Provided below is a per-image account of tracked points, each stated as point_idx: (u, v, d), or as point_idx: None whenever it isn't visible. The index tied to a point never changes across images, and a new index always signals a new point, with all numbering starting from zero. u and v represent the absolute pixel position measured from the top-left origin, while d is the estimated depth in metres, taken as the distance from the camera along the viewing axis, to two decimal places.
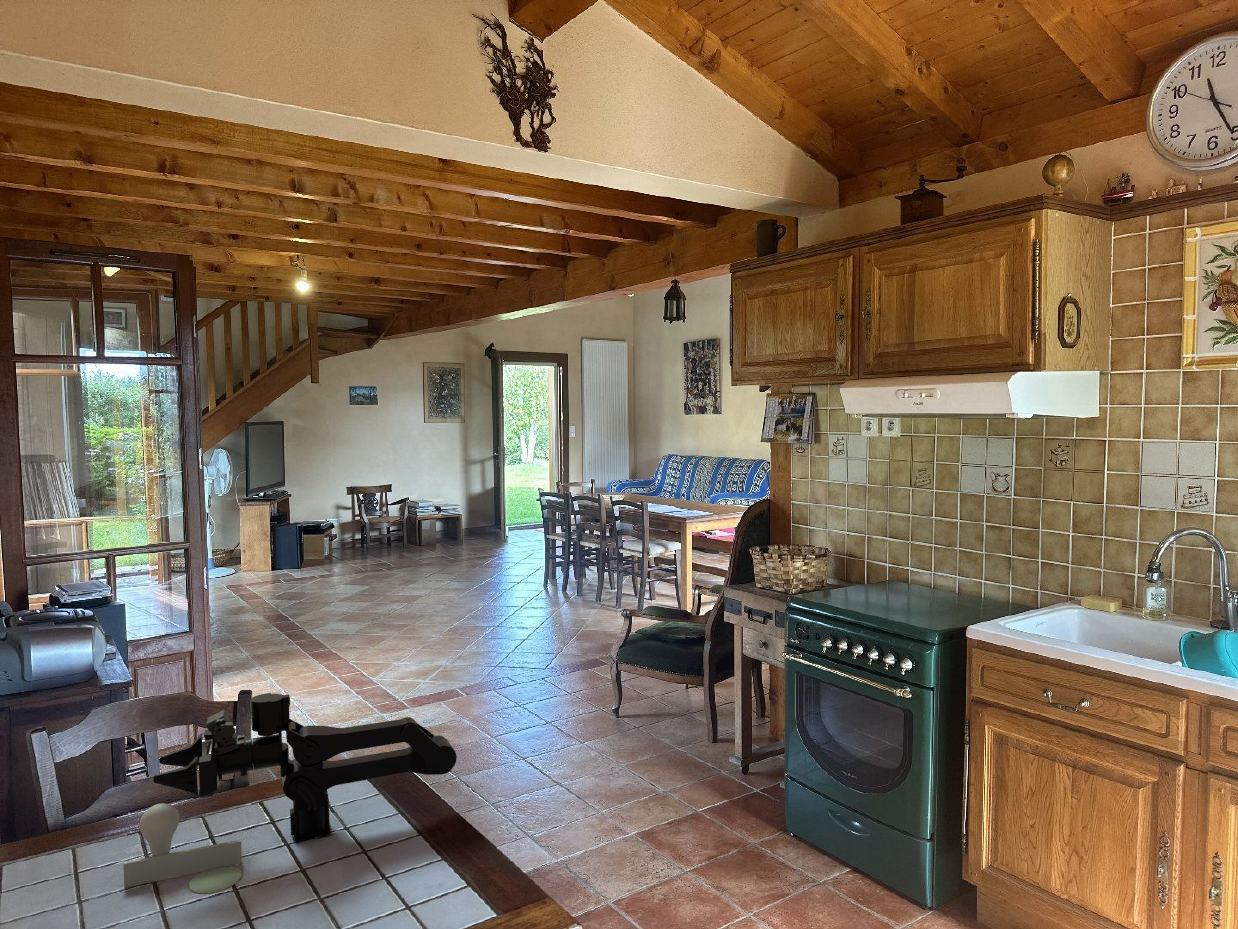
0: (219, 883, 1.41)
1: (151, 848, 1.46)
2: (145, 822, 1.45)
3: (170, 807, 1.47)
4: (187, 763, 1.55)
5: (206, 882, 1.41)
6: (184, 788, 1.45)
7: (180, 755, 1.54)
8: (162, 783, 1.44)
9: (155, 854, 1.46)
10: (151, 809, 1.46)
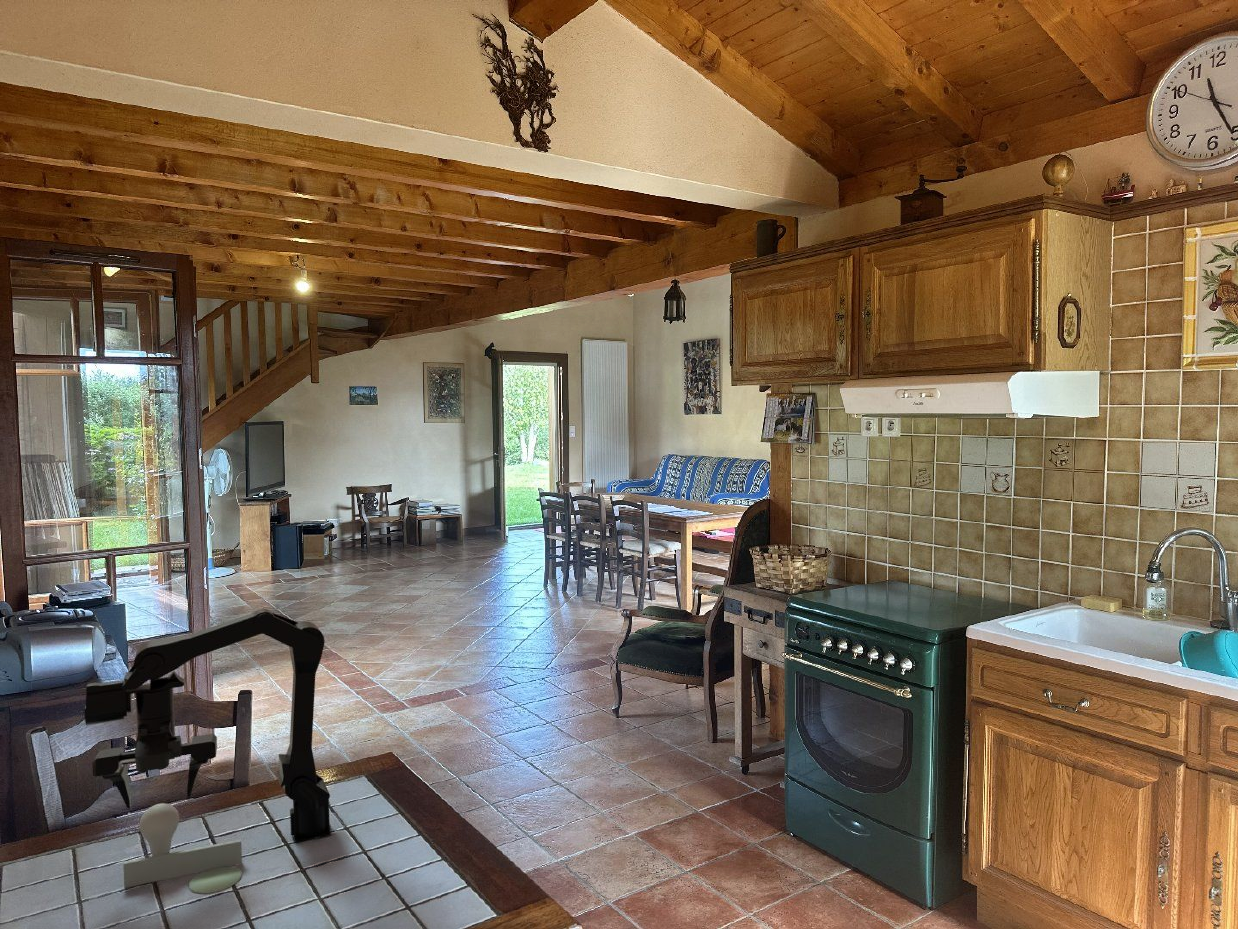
0: (219, 883, 1.41)
1: (151, 848, 1.46)
2: (145, 822, 1.45)
3: (170, 807, 1.47)
4: (127, 779, 1.46)
5: (206, 882, 1.41)
6: None
7: (126, 789, 1.45)
8: None
9: (155, 854, 1.46)
10: (151, 809, 1.46)
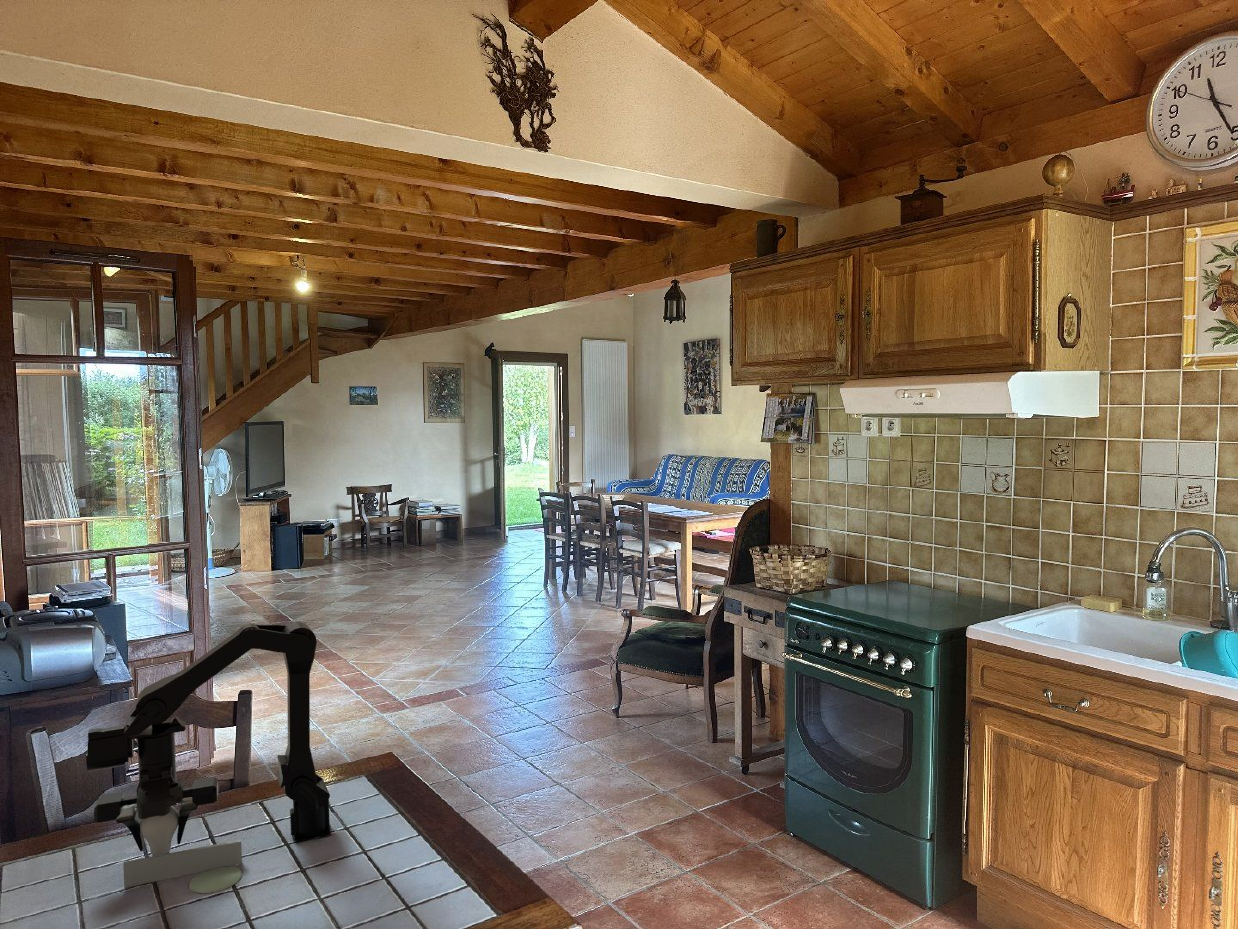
0: (219, 883, 1.41)
1: (151, 848, 1.46)
2: (145, 822, 1.45)
3: None
4: None
5: (206, 882, 1.41)
6: None
7: (139, 832, 1.46)
8: None
9: (155, 854, 1.46)
10: None
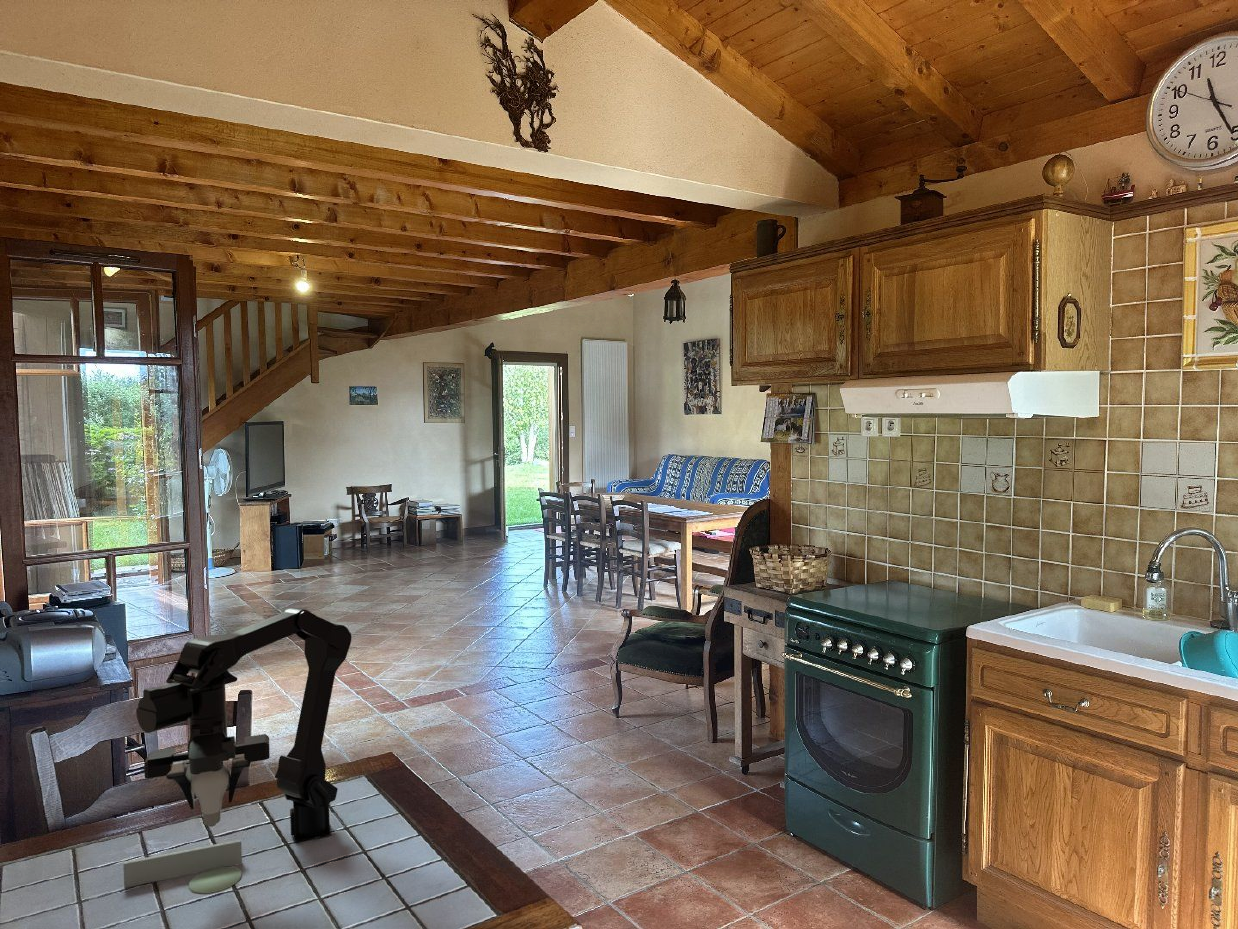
0: (219, 883, 1.41)
1: (202, 806, 1.40)
2: (196, 778, 1.39)
3: None
4: (190, 779, 1.42)
5: (206, 882, 1.41)
6: None
7: None
8: None
9: (206, 812, 1.40)
10: None
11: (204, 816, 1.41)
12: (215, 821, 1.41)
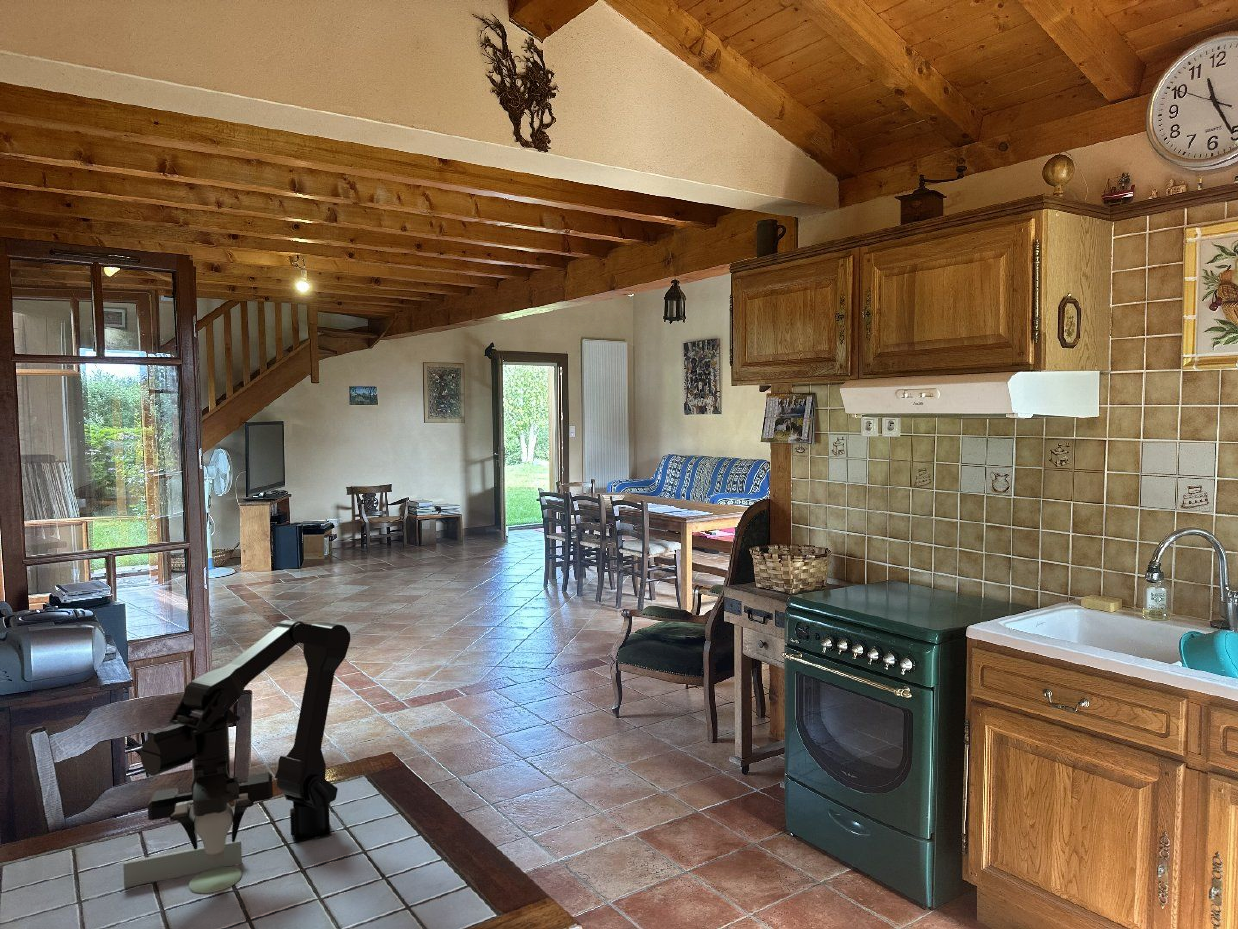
0: (219, 883, 1.41)
1: (206, 846, 1.41)
2: (200, 819, 1.39)
3: None
4: None
5: (206, 882, 1.41)
6: None
7: (193, 829, 1.41)
8: None
9: (210, 852, 1.41)
10: None
11: (207, 856, 1.41)
12: (218, 861, 1.41)
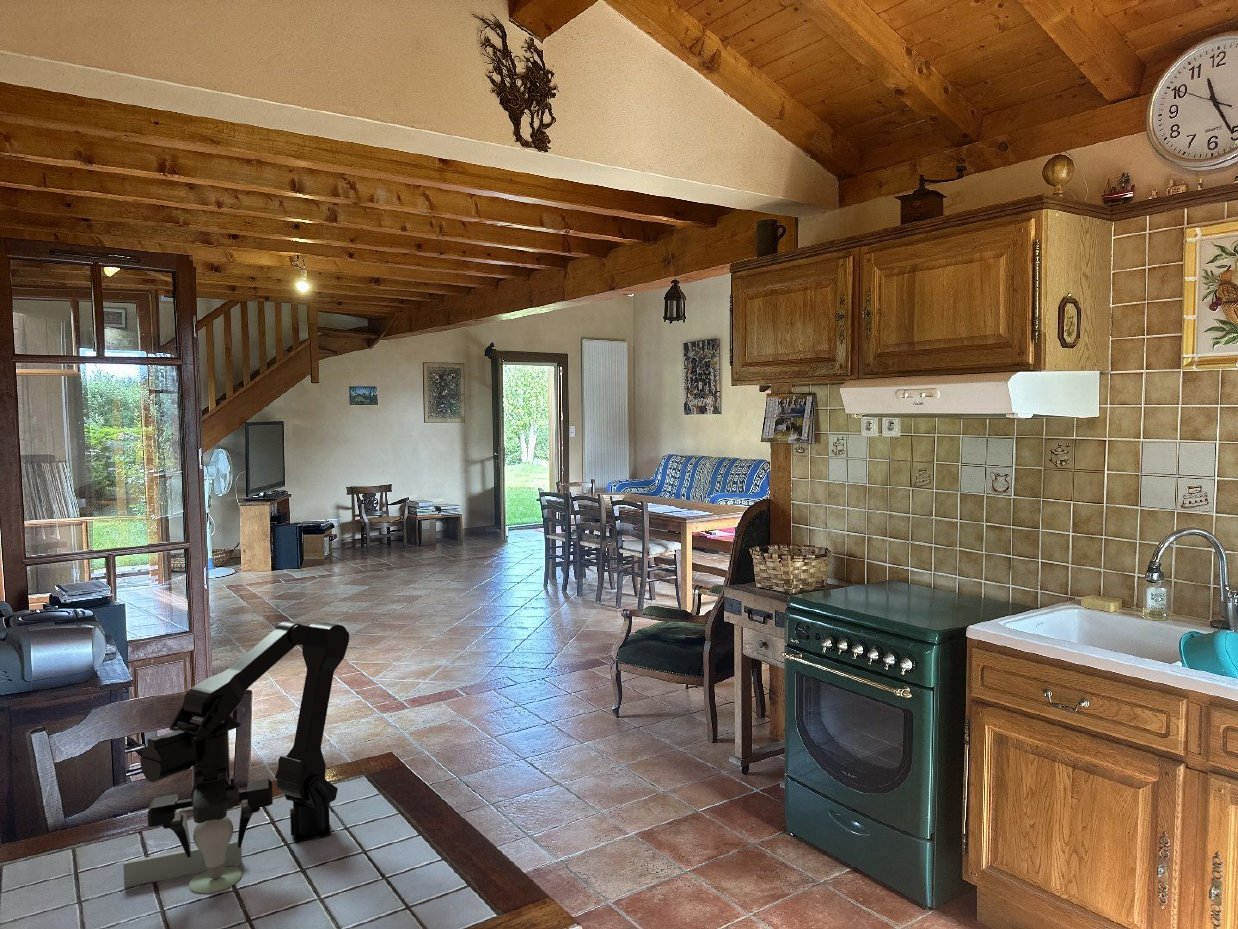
0: (219, 883, 1.41)
1: (206, 859, 1.41)
2: (200, 833, 1.39)
3: None
4: (187, 827, 1.42)
5: (206, 882, 1.41)
6: None
7: (186, 837, 1.40)
8: None
9: (210, 866, 1.41)
10: None
11: (208, 869, 1.41)
12: (219, 874, 1.42)
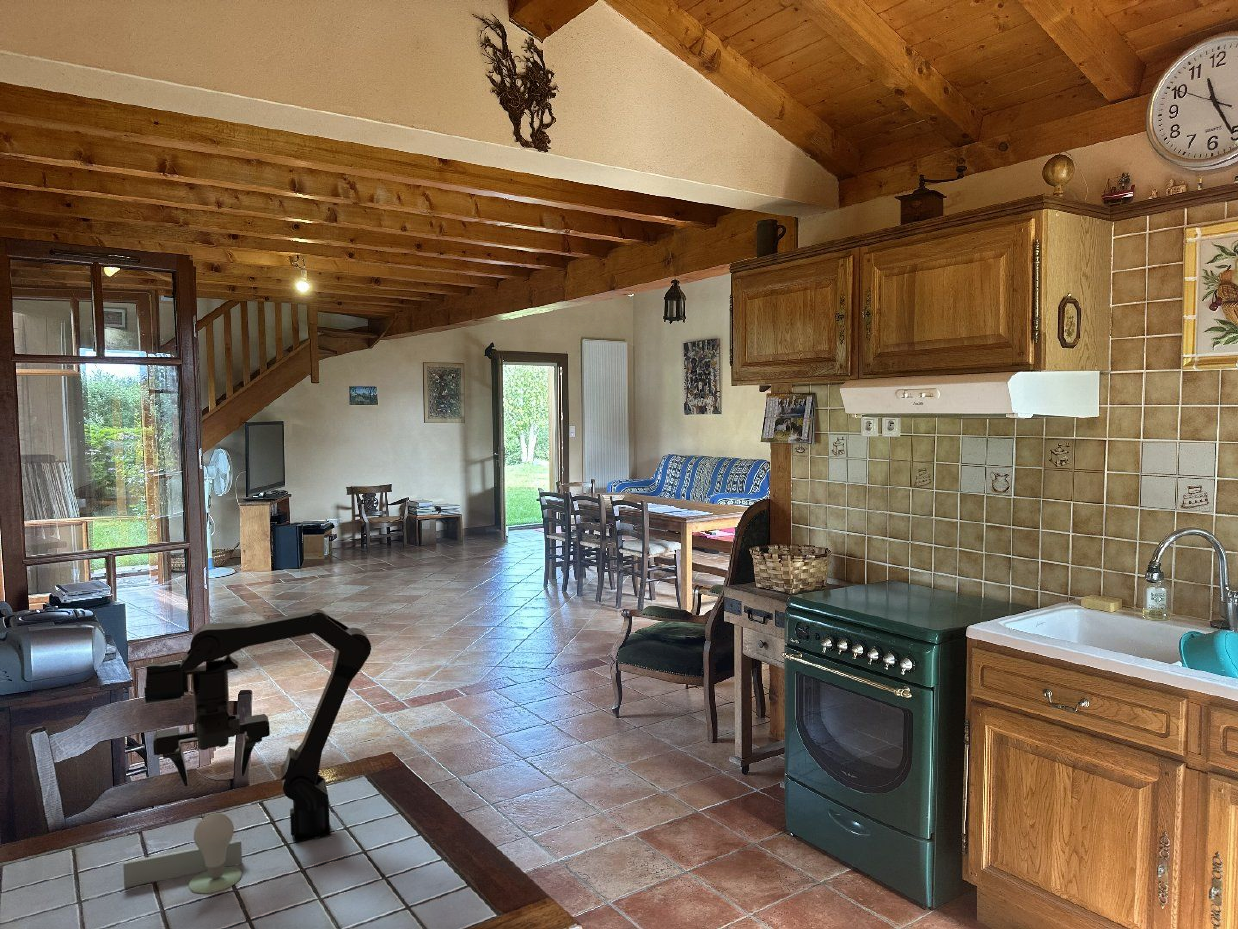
0: (219, 883, 1.41)
1: (206, 859, 1.41)
2: (200, 833, 1.39)
3: (225, 817, 1.42)
4: None
5: (206, 882, 1.41)
6: None
7: None
8: None
9: (210, 866, 1.41)
10: (205, 819, 1.41)
11: (208, 869, 1.41)
12: (219, 874, 1.42)
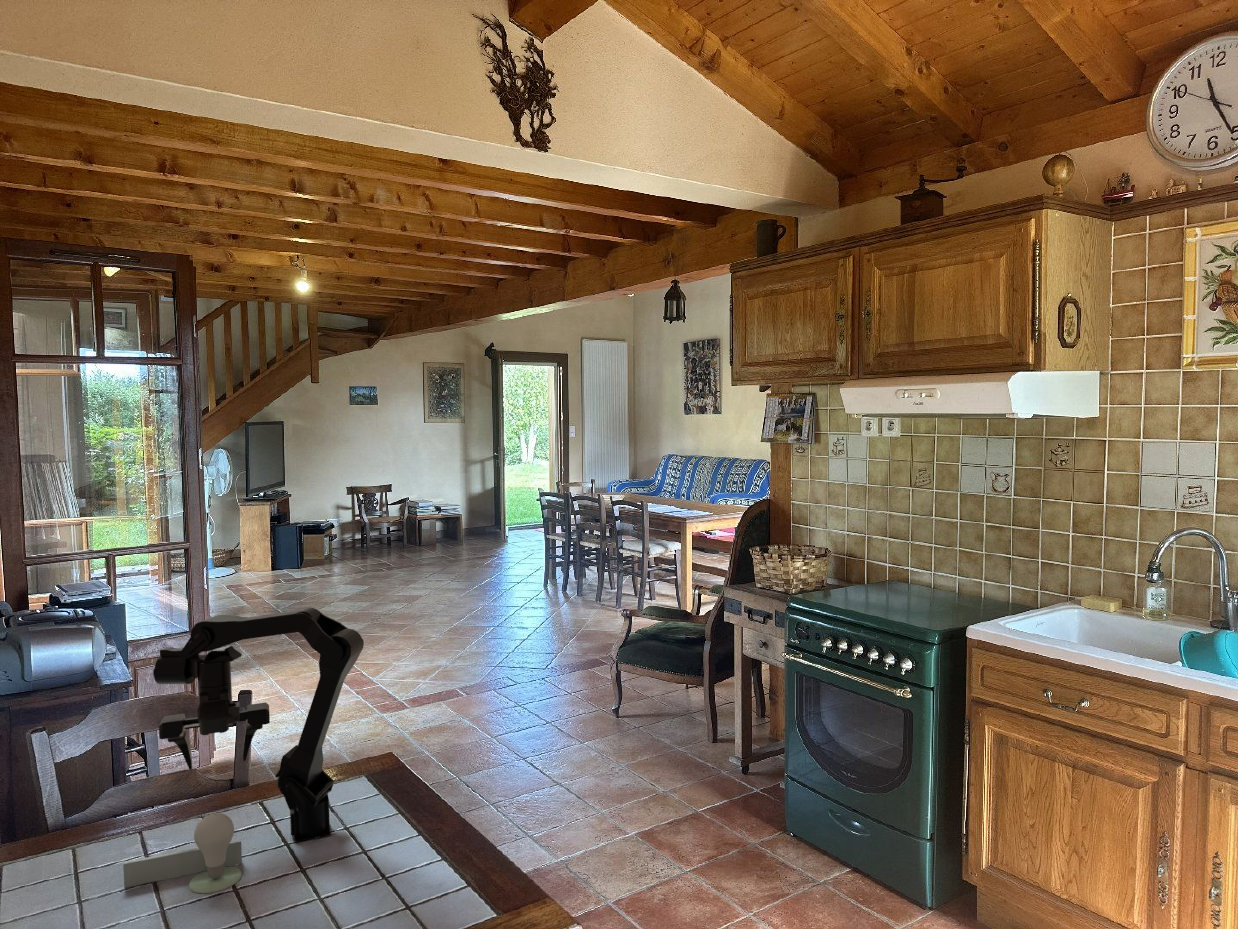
0: (219, 883, 1.41)
1: (206, 859, 1.41)
2: (201, 832, 1.39)
3: (225, 817, 1.42)
4: (189, 743, 1.59)
5: (206, 882, 1.41)
6: None
7: (188, 751, 1.57)
8: None
9: (210, 866, 1.41)
10: (205, 819, 1.41)
11: (208, 869, 1.41)
12: (219, 874, 1.42)
